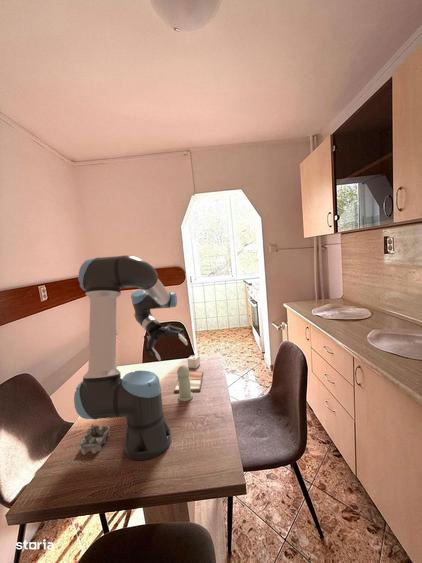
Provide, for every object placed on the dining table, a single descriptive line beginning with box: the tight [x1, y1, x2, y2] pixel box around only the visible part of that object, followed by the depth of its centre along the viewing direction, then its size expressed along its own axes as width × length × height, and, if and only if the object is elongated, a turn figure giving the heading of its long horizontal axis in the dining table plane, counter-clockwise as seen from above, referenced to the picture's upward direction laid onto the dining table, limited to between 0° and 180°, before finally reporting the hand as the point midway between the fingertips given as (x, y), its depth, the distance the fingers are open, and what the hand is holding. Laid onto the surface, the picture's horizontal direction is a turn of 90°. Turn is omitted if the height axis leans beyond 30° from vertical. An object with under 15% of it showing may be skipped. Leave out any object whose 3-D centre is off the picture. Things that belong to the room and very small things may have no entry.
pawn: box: [176, 365, 194, 403], centre depth 113 cm, size 6×6×14 cm
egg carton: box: [77, 423, 111, 455], centre depth 89 cm, size 11×8×4 cm
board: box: [173, 371, 204, 394], centre depth 127 cm, size 18×12×1 cm, turn 177°
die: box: [187, 355, 201, 369], centre depth 146 cm, size 5×5×5 cm
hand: (173, 350), depth 114 cm, fingers open, 13 cm apart
